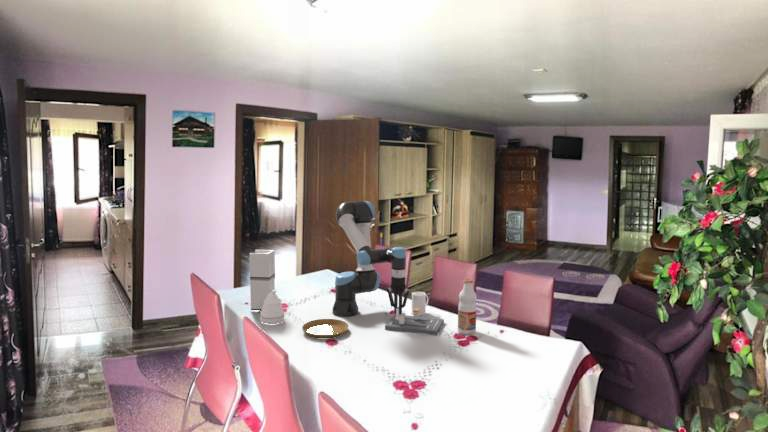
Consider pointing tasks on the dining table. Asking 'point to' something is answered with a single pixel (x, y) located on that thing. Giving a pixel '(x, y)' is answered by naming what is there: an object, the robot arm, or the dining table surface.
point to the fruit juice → (467, 309)
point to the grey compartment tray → (416, 325)
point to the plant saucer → (337, 325)
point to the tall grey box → (261, 276)
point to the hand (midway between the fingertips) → (398, 319)
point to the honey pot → (272, 309)
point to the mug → (419, 302)
